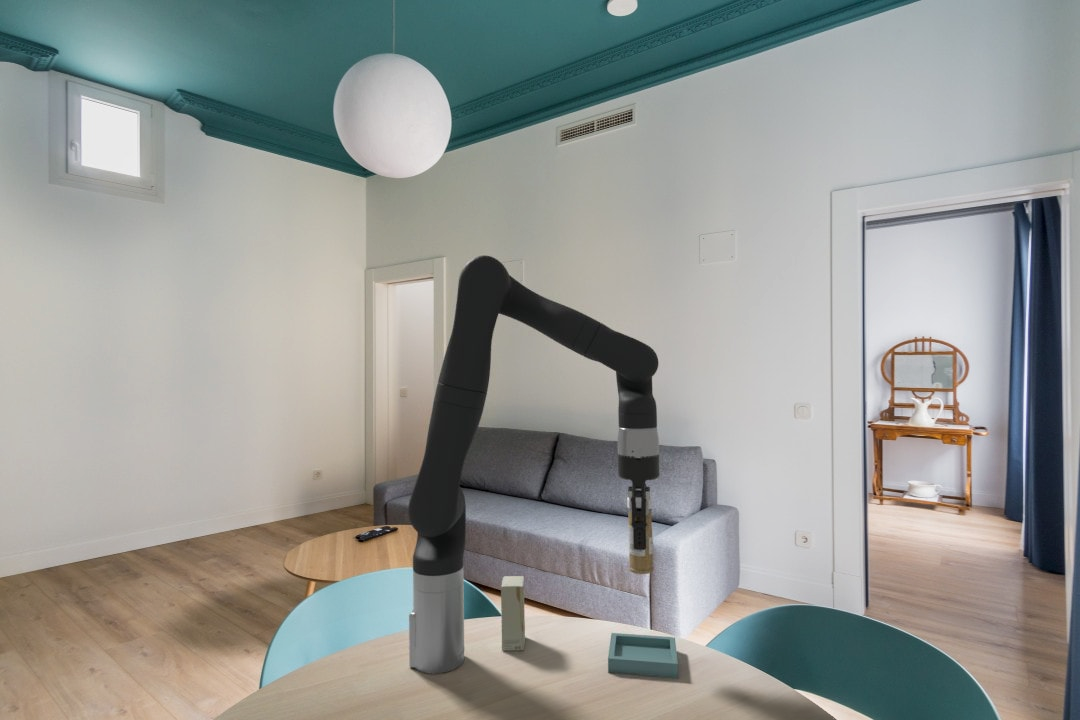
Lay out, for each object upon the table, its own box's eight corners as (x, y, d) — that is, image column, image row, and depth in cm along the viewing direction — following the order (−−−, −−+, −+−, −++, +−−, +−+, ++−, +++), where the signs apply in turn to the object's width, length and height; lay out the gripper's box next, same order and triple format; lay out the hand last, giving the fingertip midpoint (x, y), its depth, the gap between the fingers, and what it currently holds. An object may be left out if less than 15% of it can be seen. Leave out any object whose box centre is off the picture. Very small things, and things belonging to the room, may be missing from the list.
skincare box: (524, 651, 109) (523, 586, 110) (501, 651, 109) (500, 587, 110) (525, 635, 116) (524, 574, 116) (503, 636, 116) (503, 575, 116)
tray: (608, 672, 101) (608, 658, 101) (611, 645, 111) (611, 632, 111) (678, 678, 99) (677, 663, 99) (675, 650, 109) (675, 637, 109)
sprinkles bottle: (658, 571, 105) (657, 497, 105) (640, 576, 102) (639, 500, 103) (641, 564, 109) (640, 493, 109) (623, 569, 106) (621, 496, 106)
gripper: (619, 446, 114) (621, 533, 113) (615, 457, 100) (617, 556, 99) (658, 446, 112) (660, 534, 112) (659, 457, 98) (661, 558, 98)
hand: (640, 544), depth 105 cm, fingers closed on sprinkles bottle, 4 cm apart
